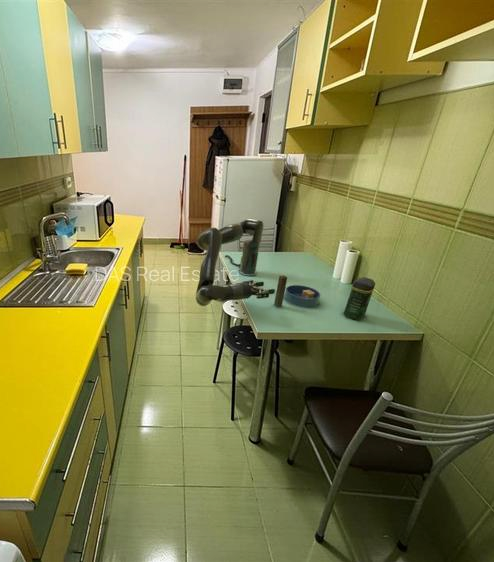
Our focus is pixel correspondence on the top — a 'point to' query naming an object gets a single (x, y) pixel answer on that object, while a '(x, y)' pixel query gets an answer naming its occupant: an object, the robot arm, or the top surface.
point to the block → (308, 294)
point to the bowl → (295, 296)
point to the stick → (280, 291)
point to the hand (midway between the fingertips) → (268, 287)
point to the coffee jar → (359, 298)
